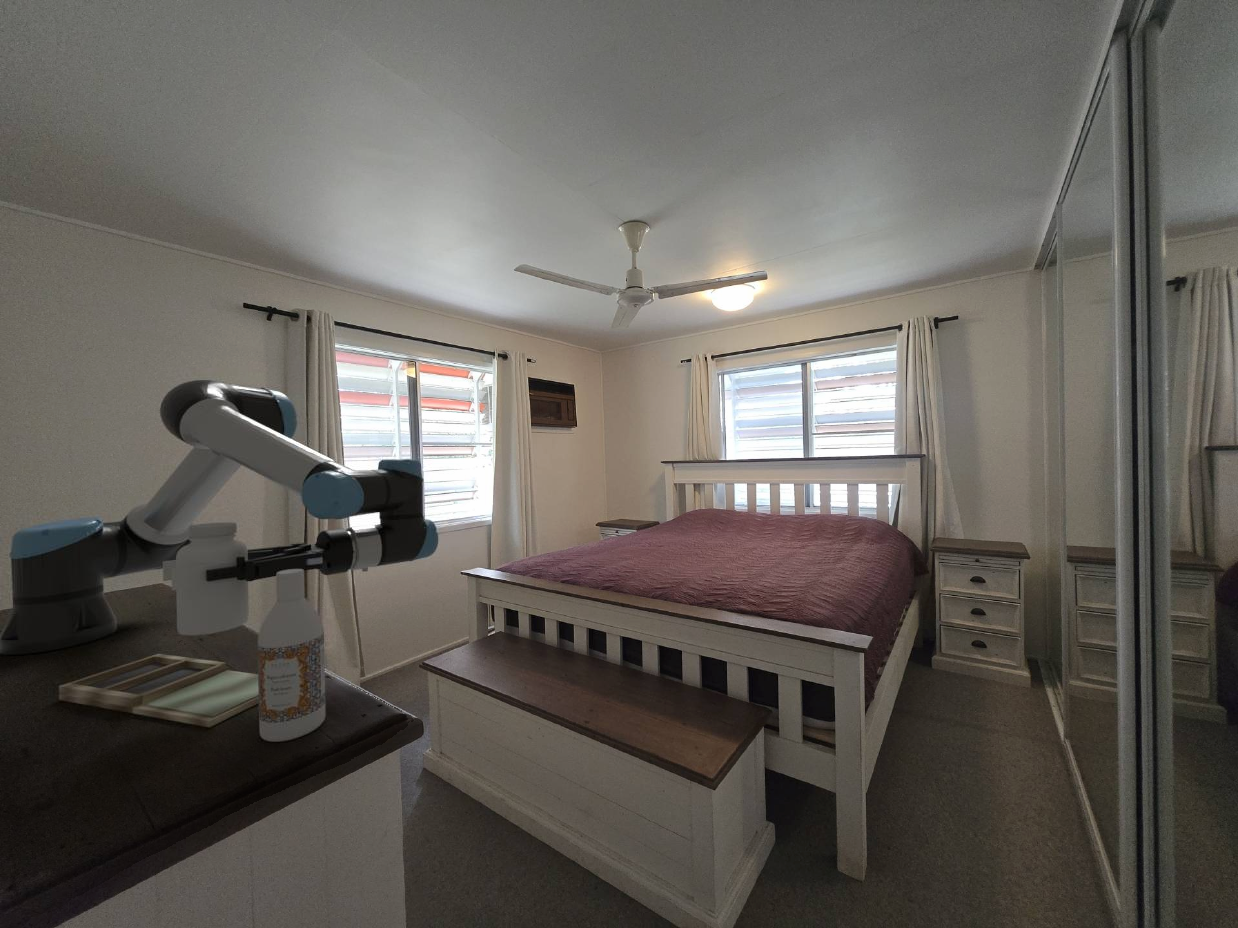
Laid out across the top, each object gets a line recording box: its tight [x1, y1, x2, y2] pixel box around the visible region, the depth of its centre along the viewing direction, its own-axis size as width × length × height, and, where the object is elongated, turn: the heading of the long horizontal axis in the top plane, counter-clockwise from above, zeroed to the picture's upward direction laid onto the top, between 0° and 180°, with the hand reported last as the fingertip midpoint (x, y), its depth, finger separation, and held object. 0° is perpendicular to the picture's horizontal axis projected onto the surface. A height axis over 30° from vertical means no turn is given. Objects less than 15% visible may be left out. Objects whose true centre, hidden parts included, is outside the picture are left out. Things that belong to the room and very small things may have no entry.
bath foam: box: [256, 569, 326, 743], centre depth 61 cm, size 7×7×20 cm
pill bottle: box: [175, 521, 250, 636], centre depth 69 cm, size 8×8×15 cm
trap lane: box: [58, 653, 259, 728], centre depth 71 cm, size 30×12×2 cm, turn 74°
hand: (167, 575), depth 66 cm, fingers closed on pill bottle, 8 cm apart
